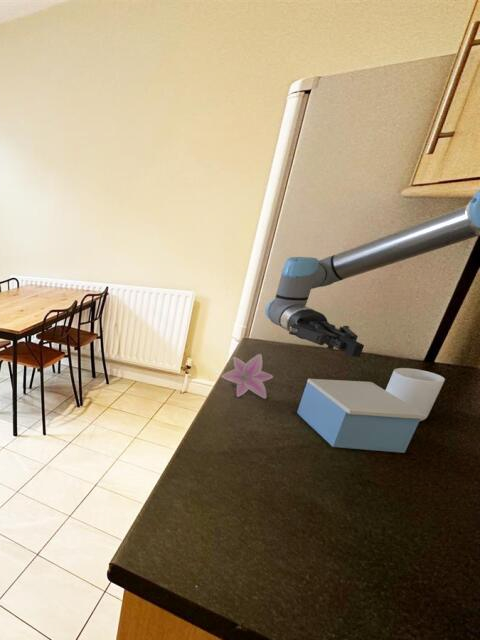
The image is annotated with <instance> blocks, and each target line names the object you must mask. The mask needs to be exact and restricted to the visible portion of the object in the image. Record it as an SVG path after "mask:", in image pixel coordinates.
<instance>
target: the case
mask: <svg viewBox="0 0 480 640" xmlns="http://www.w3.org/2000/svg"><path fill="white" fill-rule="evenodd" d="M300 399H301V400H300V402H299V406H298V409H297V411H296V414H297V415H298V416H300V418H302V419H303V420H304V422H306V423H307V424H308V425H309V426H310V427H311V428H312V429H313V430H314V431H315V432H317V433H318V435H320V437H322V438H323V439H324V441H326V442H327V443H328V444H329V445H330V446H331V448H342V449H353V450H365V451H377V452H378V451H379V452H390V453H403V454H405V453H406V451H407V448H408V446H409V445H410V442H411V441H412V438H413V435H414V434H415V432H416V430H417V427H418V426H419V423H420V422H421V421H420V419H416V418H401V417H386V416H371V415H357V414H348V413H347V412H346V411H344V410H343V409H342V408H341V407H339V406H338V405H337V404H335V403H334V402H333V401H332V400H330V399H329V398H328V397H326V396H325V395H324V394H323V393H321V392H320V391H319V390H317V389H316V388H315V387H313V386H312V385H311V384H310V383H308V382H307V381H306V384H305V387H304V390H303V393H302V397H301V398H300Z"/></svg>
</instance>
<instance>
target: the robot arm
mask: <svg viewBox="0 0 480 640" xmlns="http://www.w3.org/2000/svg"><path fill="white" fill-rule="evenodd" d="M472 196H473V197H472V198H471V199H470V201H469V202H468V203H467V204H466V205H464V206H462V207H459V208H455V209H453V210H451V211H448V212H445V213H443V214H441V215H437V216H434V217H431V218H429V219H427V220H424V221H422V222H419V223H416V224H413V225H410V226H408V227H405V228H402V229H399V230H397V231H394V232H392V233H389V234H387V235H384V236H382V237H378V238H376V239H373V240H370V241H368V242H365V243H363V244H359V245H357V246H354V247H352V248H350V249H349V248H348V249H346V250H344V251H341V252H339V253H336V254H333V255H331V256H330V255H329V256H327V257H325V258H322V259H318V258H316V257H311V256H290V257H289V258H287V259H286V260H285V262H284V265H283V268H282V270H281V274H280V278H279V283H278V286H277V290H276V294H275V297H274V299H272V300H271V301H269V303H268V304H267V305H266V307H265V316H266V317H267V319H268V320H269V321H270V322H271V323H273V324H274V325H276V326H279V327H280V328H282V329H284V330H285V331H287V332H288V334H289V335H291V336H295V337H297V338H299V339H301V340H306V341H309V342H311V343H313V344H316V345H319V346H324V345H326V346H327V347H326V349H327V350H334V348H336V349H337V350H340V351H341V352H343V353H345V354H346V355H348V356H350V357H355V358H360V357H361V355H362V353H363V350H364V347H365V344H362V343H361V342H358V341H357V340H358V337H359V336H358V335H357V334H356V333H355V332H353V330H351V329H350V326H349V325H343V326H339V327H336V325H335V324H332V323H330V322H328V319H327V317H326V316H325V315H324V314H323V313H321V312H319V311H317V310H315V309H313V308H311V307H309V306H307V303H308V299H309V296H310V295H311V290H313V289H316V288H323V287H327V286H330V285H333V284H334V283H337V282H341V281H343V280H346V279H349V278H352V277H355V276H359V275H361V274H364V273H367V272H372V271H374V270H377V269H379V268H383V267H387V266H390V265H392V264H395V263H399V262H403V261H405V260H408V259H412V258H414V257H416V256H417V257H418V256H421V255H423V254H427V253H429V252H433V251H436V250H439V249H443V248H445V247H448V246H451V245H454V244H458V243H462V242H464V241H467V240H470V239H473V238H476V237H480V188H479V189H478V190H477V191H476V192H475V194H474V195H472Z"/></svg>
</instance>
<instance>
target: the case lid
mask: <svg viewBox="0 0 480 640" xmlns="http://www.w3.org/2000/svg"><path fill="white" fill-rule="evenodd" d="M307 382H308V383H310V384H311V385H312V386H313V387H315V388H316V389H317V390H319V391H320V392H321V393H323V394H324V395H325V396H326V397H328V398H329V399H330V400H332V401H333V402H334V403H335V404H337V405H338V406H339V407H341V408H342V409H343V410H344V411H346V412H347V413H348V414H357V415H371V416H386V417H401V418H416V419H425V418H426V415H425V414H423V413H421V412H420V411H418V410H417V409H415V408H413V407H412V406H410V405H408V404H407V403H405V402H403V401H402V400H400V399H399V398H397V397H395V396H394V395H392V394H390V393H389V392H387V391H385V390H386V389H384V388H382V387H380V386H379V385H377V384H376V383H374V382H372V381H362V380H361V381H360V380H343V379H342V380H341V379H322V378H307V380H306V383H307ZM426 419H427V418H426ZM426 419H425V420H426Z"/></svg>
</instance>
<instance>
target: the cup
mask: <svg viewBox="0 0 480 640" xmlns="http://www.w3.org/2000/svg"><path fill="white" fill-rule="evenodd" d="M445 381H446V378H445V377H443V376H442V375H440V374H437V373H434V372H431V371H427V370H423V369H417V368H410V367H399V368H394V369H393V371H392V374H391V376H390V379H389V381H388V383H387V385H386V388H385V389H384V390H385V391H387V392H389V393H390V394H392V395H394V396H395V397H397V398H399V399H400V400H402V401H403V402H405V403H407V404H408V405H410V406H412V407H413V408H415V409H417V410H418V411H420V412H421V413H423V414H425V415H426V418H425V419H420V421H419V422H423V421H425V420H426V419H428V417H429V415H430V412H431V410H432V409H433V406H434V404H435V402H436V400H437V398H438V395H439V394H440V391H441V389H442V387H443V385H444V383H445Z"/></svg>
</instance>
